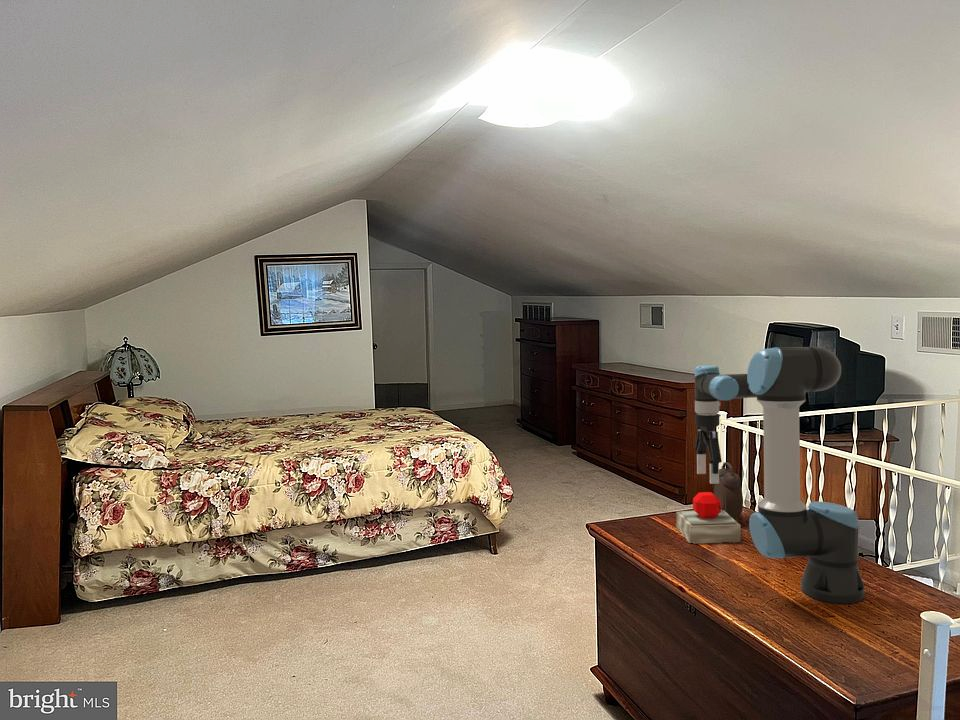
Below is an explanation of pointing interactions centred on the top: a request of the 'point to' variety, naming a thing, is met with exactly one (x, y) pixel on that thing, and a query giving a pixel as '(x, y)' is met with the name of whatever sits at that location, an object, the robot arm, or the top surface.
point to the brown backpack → (729, 491)
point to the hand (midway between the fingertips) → (707, 478)
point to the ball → (706, 505)
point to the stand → (708, 528)
